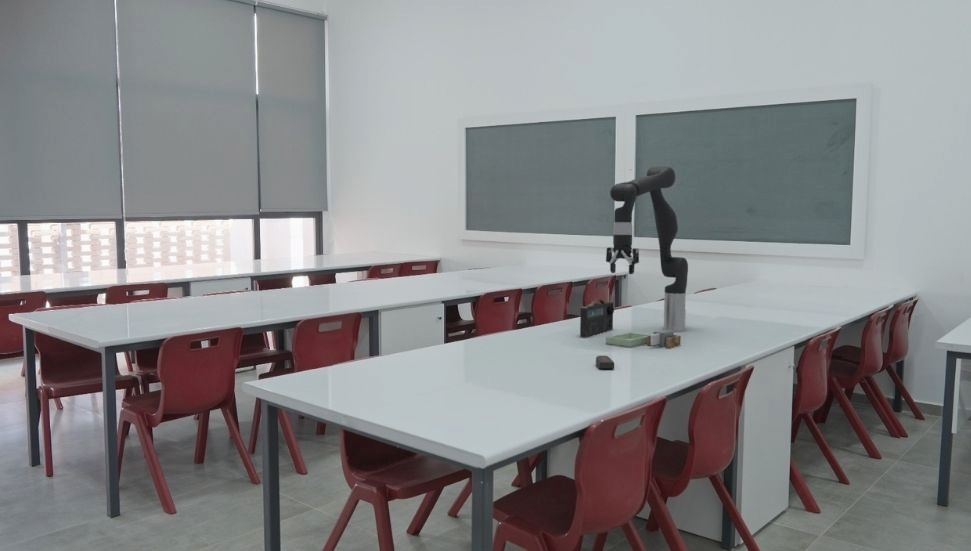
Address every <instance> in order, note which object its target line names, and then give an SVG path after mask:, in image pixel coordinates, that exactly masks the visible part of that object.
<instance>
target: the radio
mask: <svg viewBox="0 0 971 551" xmlns="http://www.w3.org/2000/svg"><path fill="white" fill-rule="evenodd" d="M609 288H610V287H607V301H604V300H603V299H601V298H600V299H599V298H597V299H593V300H592V301H591V302H590V304H587V305H585V306H583V305H582V306H580V318H579V319H580V323H579V324H580V325H579V331H580V332H579V333H580V334H579V336H580V338H584V337H585V338H587V337H588V338H591V337H594V336H593V335H595V336H597V334H598V335H600V333H601V334H604V333H607V331H608V332H610V331H612V330H613V329H614V328H613V327H614V313H615V308H614V302H612V301H610V289H609ZM598 302H600V303H598ZM603 332H604V333H603ZM590 336H591V337H590ZM585 338H584V339H585Z"/></svg>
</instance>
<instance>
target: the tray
mask: <svg viewBox="0 0 971 551" xmlns="http://www.w3.org/2000/svg"><path fill="white" fill-rule="evenodd" d="M650 335H651V334H645V333H637V332H629V331H628V332H625V333H620V334H614V335H610V336H605V345H608V346H616V347H622V348H629V349H630V348H635V347H639V346H644V345H647V336H650ZM643 344H644V345H643Z"/></svg>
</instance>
